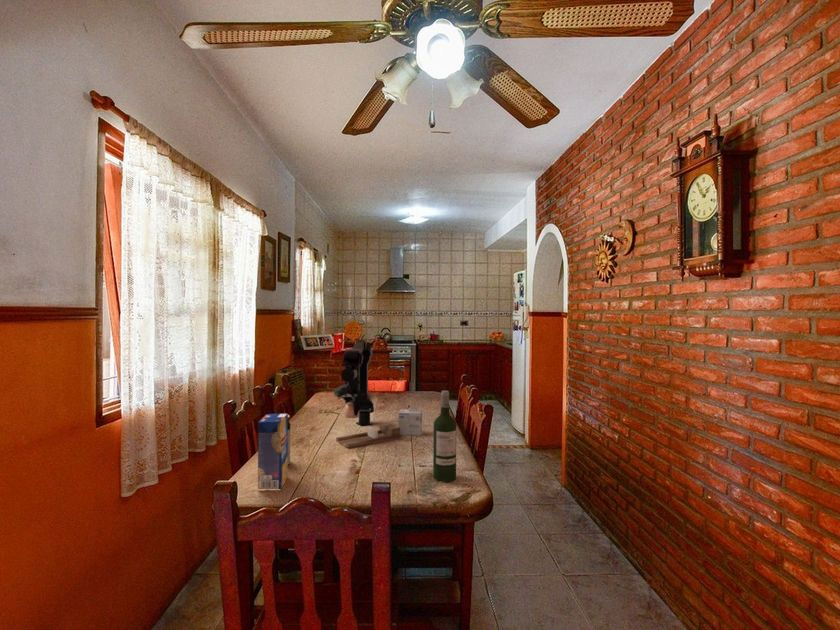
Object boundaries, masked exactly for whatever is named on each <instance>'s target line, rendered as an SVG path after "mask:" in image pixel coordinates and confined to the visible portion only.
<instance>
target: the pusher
mask: <svg viewBox="0 0 840 630" xmlns="http://www.w3.org/2000/svg"><path fill="white" fill-rule="evenodd" d="M378 430H379V429H376V428H373V427H371V426H367V432H368V436H370V437H372V438H377V437H378Z"/></svg>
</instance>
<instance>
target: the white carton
mask: <svg viewBox="0 0 840 630" xmlns="http://www.w3.org/2000/svg"><path fill="white" fill-rule="evenodd" d="M422 411H423V410H422V409H402V408H401V409H399V410H398V417H397V420H398V422H397V423H398V424H397V425H398V426H397V427H399V428H400V436H417V437H421V436H422V432H423V412H422Z"/></svg>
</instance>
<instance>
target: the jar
mask: <svg viewBox="0 0 840 630" xmlns="http://www.w3.org/2000/svg"><path fill="white" fill-rule="evenodd" d="M344 414H345V417H344V418H347V419H357V418H358V419H359V412H358V414H357V416H355V415H354V408H353V403H352V402H347V404H346V403H345V413H344Z"/></svg>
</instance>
